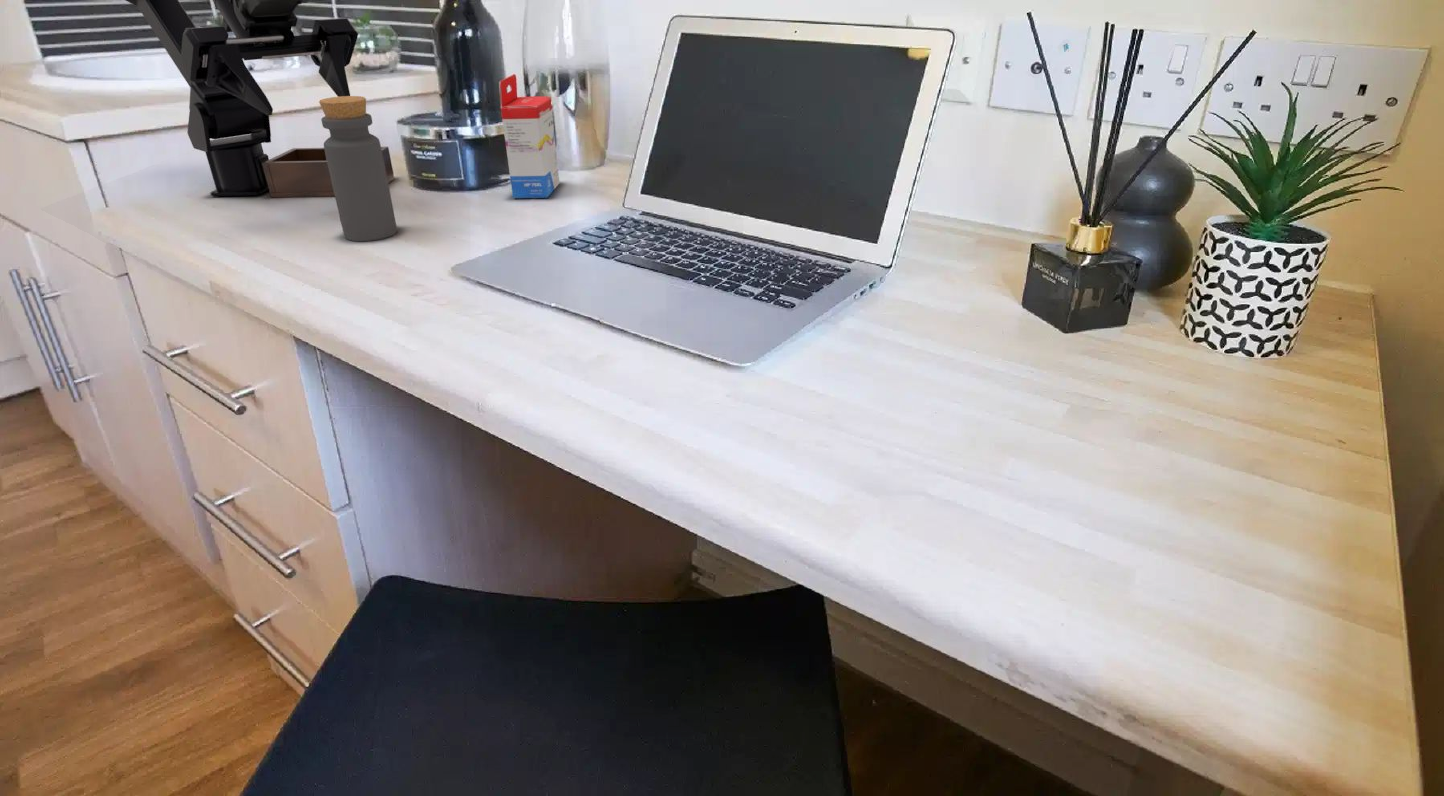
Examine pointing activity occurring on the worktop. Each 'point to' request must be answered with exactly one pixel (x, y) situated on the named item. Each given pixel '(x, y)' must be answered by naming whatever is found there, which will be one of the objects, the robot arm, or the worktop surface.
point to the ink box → (529, 142)
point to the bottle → (357, 170)
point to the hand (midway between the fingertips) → (311, 107)
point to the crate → (306, 173)
